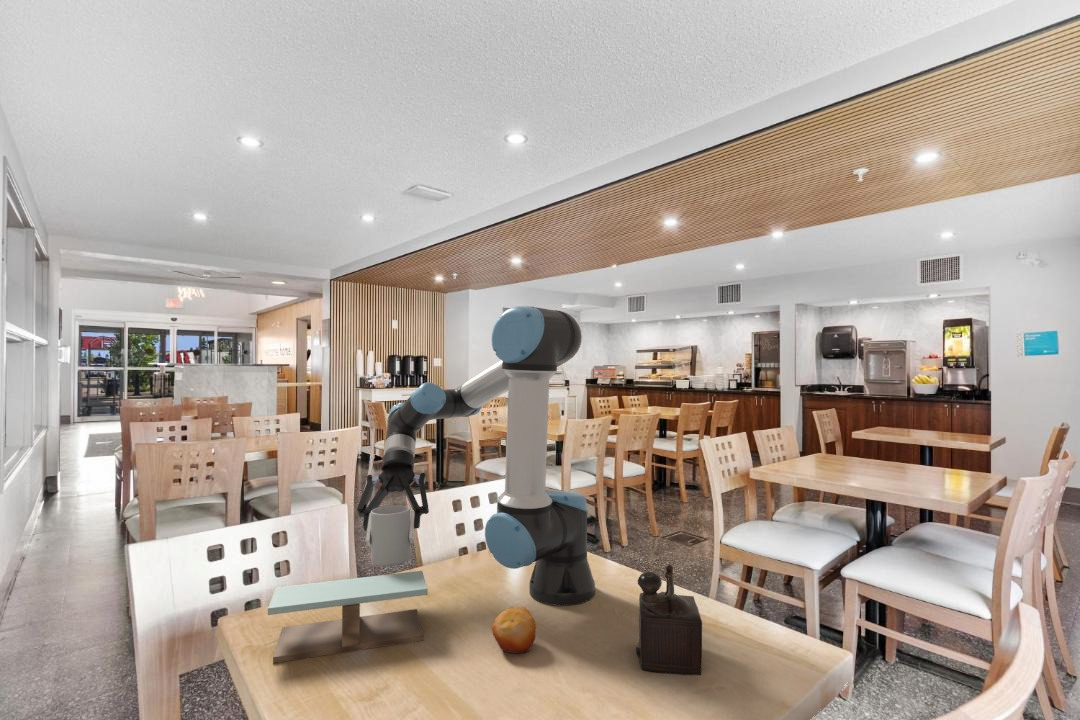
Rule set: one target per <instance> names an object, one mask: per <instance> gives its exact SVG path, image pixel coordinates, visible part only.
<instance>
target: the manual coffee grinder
mask: <svg viewBox="0 0 1080 720" xmlns="http://www.w3.org/2000/svg"><path fill="white" fill-rule="evenodd" d="M673 571H674V566H673V565H672V564H667V565H666V566H665V574H664V577H665V579H666V586H665V587H666V589H665V590H666V591H660V592H658V591H659V590H660V588H661V587H662V585H663V584H662V579H661V576H660V575H659V574H658V573H656V572H653V571H646V572H645V571H644V572H642V573H640V575H639V577H638V578H637V585H638V586H639V587H640V589H641V591H642V592H640V593H639V596H638V600H639V603H638V605H639V606H638V608H639V609H638V610H639V612H638V645H637V646H635V655H636V656H637V657H638V661H639V666H640V668H641V671H642V670H643V671H646V672H647V671H648V672H652V673H656V674H657V673H660V674H671V675H680V676H681V675H684V676H690V675H691V676H700V675H702V659H703V655H702V654H703V620H702V618H701V613H700V611H699V607H698V605H697V603H696V601H695V597H694V596H693V595H682V594H681V595H679V594H677V593H675V585H674V584H675V583H674V573H673Z"/></svg>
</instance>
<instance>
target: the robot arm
mask: <svg viewBox="0 0 1080 720" xmlns="http://www.w3.org/2000/svg"><path fill="white" fill-rule="evenodd" d="M582 338H583V336H582V330H581V327H580V324H579V323H578V321H577V320H576V319H575V318H574V317H573V316H572V315H571V314H569V313H568V312H564V311H562V310H556V309H548V308H543V307H536V306H528V305H526V306H522V305H520V306H519V305H518V306H513V307H510V308H508V309H506V310H505V311H504V312H503V313H502V314H501V315H500V316H499V317H498V318H497V320H496V321H495V324H494V325H493V328H492V332H491V347H492V350H493V351H494V352H495V355H496V357H497V358H498V359H499V361H497V362H495V363H494V364H492V365H491V366H490V367H488V368H486V369H484V370H483V371H481V372H480V373H478V374H477V375H475V376H474V377H472V378H471V379H469V380H468V381H466V382H465V383H463V384H461V385H460V386H458V387H456V388H451V389H443V388H442V387H441V386H439V385H438V384H435V383H433V382H428V381H427V382H424V383H422V384H420V386H419V387H418V388H417V389H415V390H414V391H413V392H412V394H411V395H410V396H409V397H408V398H407V399H406V401H405V402H399V403H397V404H394V405H392V406H391V408H390V409H389V414H388V415H387V425H386V432H385V434H386V435H385V442H384V448H383V458H382V464H381V469H380V473H379V474H378V475H375V476H373V475H372V474H368V475H367V476H366V483H365V488H364V490H363V492H362V495H361V498H360V499H359V502H358V505H357V507H356V512H357V515H358V517H359V518H362V517H363V524H362V528H363V531H365V532H366V535H365V542H366V546H367V547H371V511H372V510H373V509H375V508H379V507H380V505H381V504H382V502H383V501H384V499H385V498H386V497H387V496H388V494H389V493H394V492H403V493H404V494H405V496H406V498H407V500H408V502H409V504H410V506H411V508H412V511H411V510H410V532H409V540H410V544H411V545H414V544H415V543H414V542H415V532H416V531H415V529H420V527H421V517H422V515H424V514H425V515H427V514H429V512H430V508H429V503H428V498H427V492H426V481H427V477H426V473H425V472H421V473H420V474H415V472H414V469H415V468H414V467H415V457H416V456H415V455H416V444H417V442H416V441H417V434H418V432H420V430H421V429H422V428H423V427H424V426H425V425H426V424H427V423H428V422H430V421H431V420H441V419H450V418H451V419H453V418H454V419H455V418H467V417H468V418H469V417H472V416H475V415H478V414H480V413H479V412H480V411H481V409H482V408H483V406H484V405H486V404H487V403H489V402H491V401H493V400H495V399H496V398H498V397H500V396H501V395H503V394H505V393H507V392H508V395H507V421H506V422H507V423H506V447H505V448H506V449H505V450H506V452H505V475H504V476H505V477H504V482H505V483H504V491H503V492H502V493H501V494H500V495H499V496H498V497H497V500H496V502H497V504H496V505H497V506H496V513H493V514H492V515H491V516H490V518H489V519H488V520H487V521H486V524H485V527H484V538H485V539H484V540H485V543H486V546H487V548H488V551H489V553H490V554H492V557H493V558H494V559H495V561H496V562H497V563H499V564H500V565H501V566H503V567H505V568H508V569H511V570H512V569H514V570H515V569H520V568H523V567H529V566H531V565H533V564H534V563H535V564H534V566H533V571H532V574H531V576H530V578H529V579H530V580H529V595H530V596H531V597H532V598H533V599H534V600H536V601H537V602H539V603H543V604H547V605H551V606H552V605H553V606H573V605H574V606H575V605H580V604H583V603H586V602H587V601H588V602H589V601H590V600H592V599H593V598H594V597H595V595H596V583H595V580H594V578H593V577H594V576H593V574H592V570H591V567H590V564H589V561H588V503H587V499H586V497H585V496H584V495H583V494H581V493H578V492H574V491H566V490H557V489H556V490H554V489H549V490H548V489H546V482H547V481H546V480H547V476H546V475H547V457H548V455H547V454H548V453H547V449H548V425H549V423H548V422H549V403H550V401H549V399H550V398H549V397H550V380H551V379H552V378H553V376H554V375H555V374H557V372H558V368H559V366H562V365H564V364H565V363H567V362H568V361H571V359H573V357H575V355H576V354H578V352H579V350H580V348H581V345H582V340H583V339H582ZM414 481H415V482H416V484H417V485H418V486H419V488H418V489H419V493H420V498H421V505H422V506H421V505H419V503H418V501H417V499H416V497H415V495H414V493H413V490H412V488H411V486H410V485H411V484H412V483H413V482H414ZM378 482H380V484H381V485H380V486H379V489H378V490H377V492H376V493H375V495H374V496H373V498H372V499H371V496H372V494H373V491H374V487H376V486H377V483H378ZM370 499H371V501H370Z"/></svg>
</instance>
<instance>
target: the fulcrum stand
mask: <svg viewBox="0 0 1080 720" xmlns="http://www.w3.org/2000/svg"><path fill="white" fill-rule="evenodd" d="M360 604H361V603H360ZM360 604H352V605H344V606H341V607H342V608H341V612H342V613H341V615H342V617H341V618H339V619H334V620H333V619H332V620H325V621H319V622H318V621H317V622H311V623H303V624H302V623H301V624H295V625H289V626H282V628H281V630H280V634H279V637H278V639H277V644H276V647H275V650H274V652H273V657H272V663H273V664H275V663H277V664H278V663H281V662H287V661H294V660H296V661H297V660H300V659H303V660H304V659H309V658H316V657H322V656H328V655H335V654H341V653H348V652H355V651H361V650H368V649H374V648H375V649H376V648H381V647H389V646H393V645H400V644H407V643H408V642H409V643H415V642H420V641H424V640H423V639H424V638H423V637H424V635H423V629H422V625H421V621H420V618H419V617H420V616H419V612H418V609H417V608H415V609H408V610H407V609H406V610H401V611H399V610H398V611H392V612H384V613H379V614H378V613H377V614H370V615H363V616H361V614H360V613H361V612H360V611H361V605H360Z"/></svg>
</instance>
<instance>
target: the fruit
mask: <svg viewBox="0 0 1080 720" xmlns="http://www.w3.org/2000/svg"><path fill="white" fill-rule="evenodd" d="M491 626H492V627H491V630H492V634H493V637H494V639H495V641H496V642H497V645H498V646H499V648H500V650H502V651H503V652H506V653H513V654H514V653H518V654H523V653H524V654H525V653H527V652H529V651H530V650H531V649H532V646H533V645H534V642H535V639H536V633H537V632H536V631H537V624H536V621H535V620H534V617H533V615H532V613H531V612H530V610H529V609H528V608H526V607H522V606H521V607H520V606H514V607H509V608H506V609H503V611H502V612H500V613H499V614H498V615H497V616H496V617H495V620H494V621H493V624H492V625H491Z"/></svg>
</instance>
